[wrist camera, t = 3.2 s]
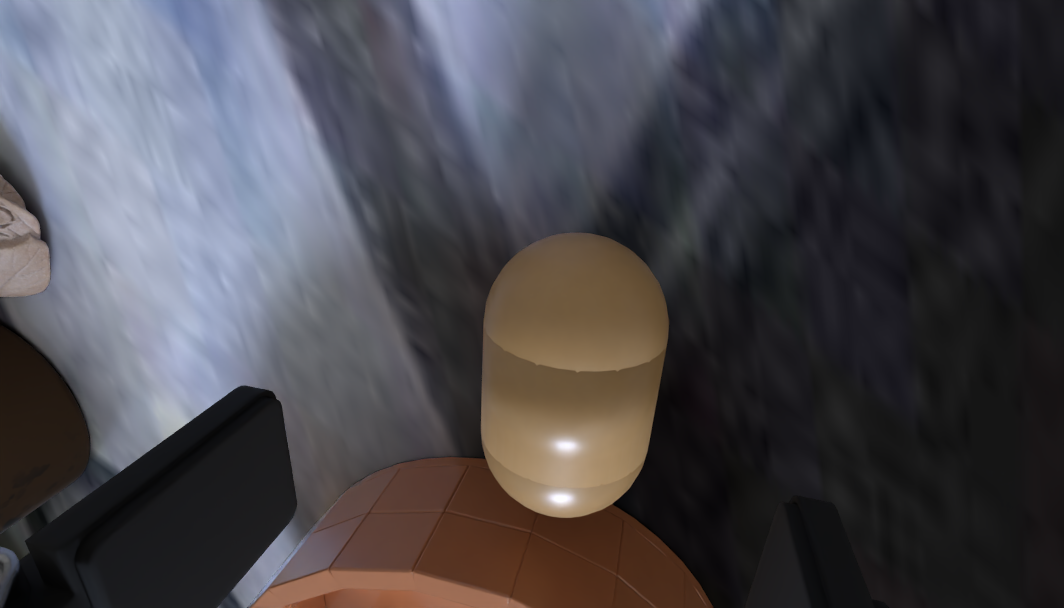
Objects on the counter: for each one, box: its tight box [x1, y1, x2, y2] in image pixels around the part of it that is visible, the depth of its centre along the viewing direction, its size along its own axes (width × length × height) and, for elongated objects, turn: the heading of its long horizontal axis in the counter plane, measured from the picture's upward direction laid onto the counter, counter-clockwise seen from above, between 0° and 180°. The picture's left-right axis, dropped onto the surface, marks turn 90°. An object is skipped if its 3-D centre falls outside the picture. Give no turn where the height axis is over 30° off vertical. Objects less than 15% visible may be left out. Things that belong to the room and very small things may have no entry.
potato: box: [481, 232, 669, 518], centre depth 14 cm, size 8×5×5 cm, turn 177°
